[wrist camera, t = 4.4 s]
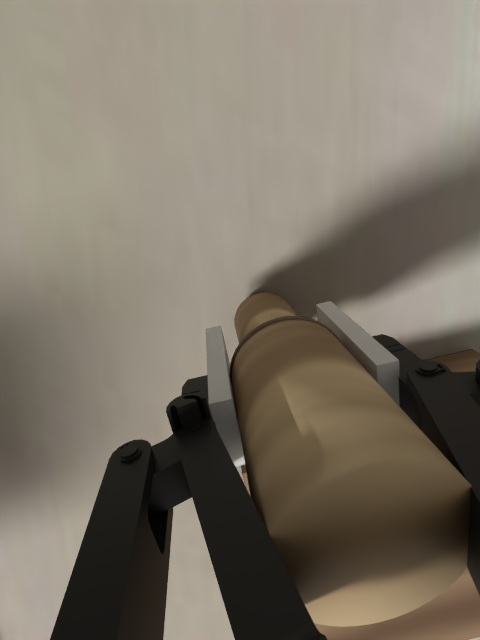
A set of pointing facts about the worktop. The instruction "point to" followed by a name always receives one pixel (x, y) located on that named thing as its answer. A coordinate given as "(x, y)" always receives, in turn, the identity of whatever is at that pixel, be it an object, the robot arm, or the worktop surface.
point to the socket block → (444, 610)
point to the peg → (342, 473)
